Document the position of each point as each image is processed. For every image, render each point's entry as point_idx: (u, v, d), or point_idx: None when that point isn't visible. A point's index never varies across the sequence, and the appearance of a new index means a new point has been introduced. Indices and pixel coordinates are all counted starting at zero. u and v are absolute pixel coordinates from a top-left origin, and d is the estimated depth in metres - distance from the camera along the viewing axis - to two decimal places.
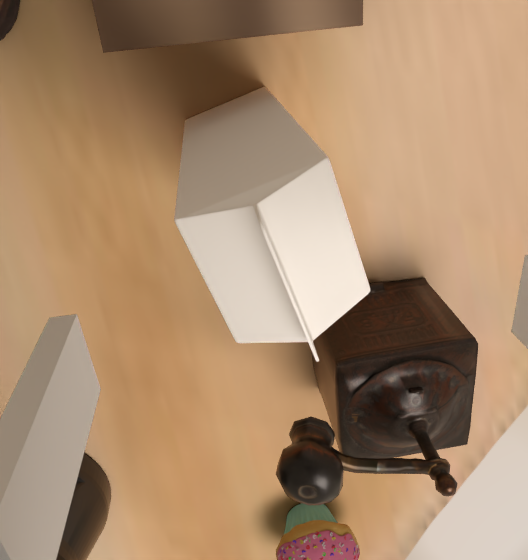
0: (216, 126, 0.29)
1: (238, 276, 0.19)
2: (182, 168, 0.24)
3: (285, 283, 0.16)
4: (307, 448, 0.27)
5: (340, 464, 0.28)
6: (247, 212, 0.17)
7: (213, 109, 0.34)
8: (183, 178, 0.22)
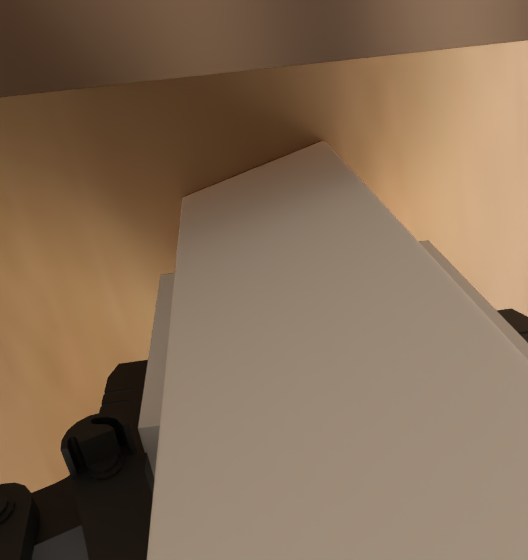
0: (244, 244, 0.14)
1: None
2: (167, 424, 0.09)
3: None
4: None
5: None
6: None
7: (232, 182, 0.19)
8: (166, 510, 0.07)
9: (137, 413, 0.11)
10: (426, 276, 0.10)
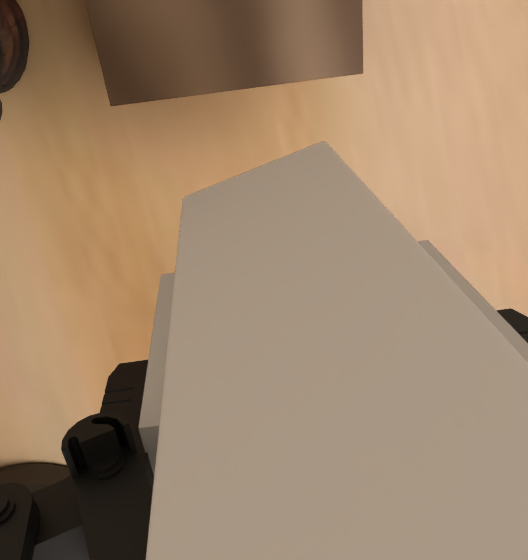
0: (244, 244, 0.14)
1: None
2: (166, 424, 0.09)
3: None
4: None
5: None
6: None
7: (233, 182, 0.19)
8: (165, 509, 0.07)
9: (137, 413, 0.11)
10: (426, 277, 0.10)
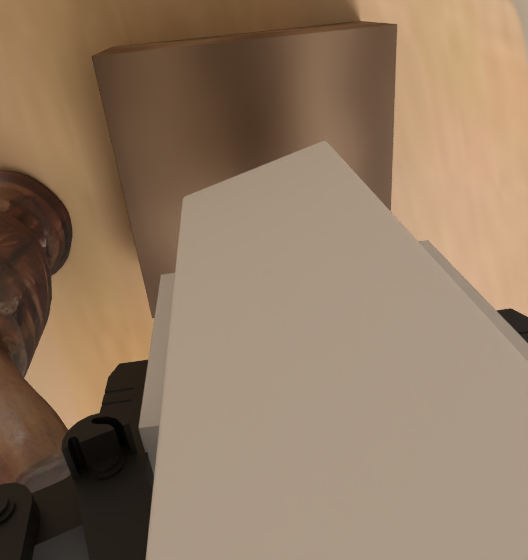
0: (245, 244, 0.14)
1: None
2: (166, 424, 0.09)
3: None
4: None
5: None
6: None
7: (233, 182, 0.19)
8: (165, 510, 0.07)
9: (138, 412, 0.11)
10: (426, 277, 0.10)
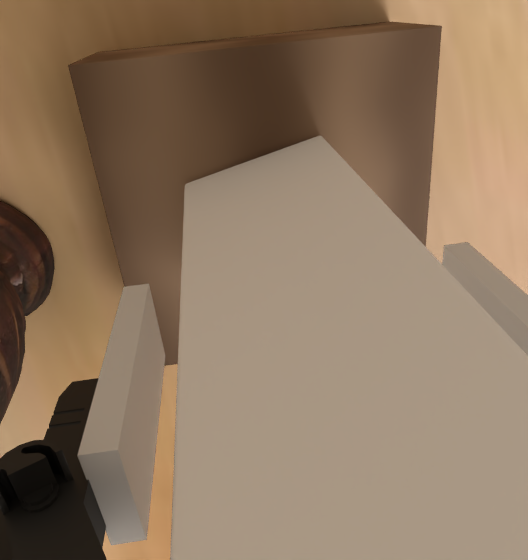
0: (247, 226, 0.15)
1: None
2: (184, 377, 0.10)
3: None
4: None
5: None
6: None
7: (233, 171, 0.20)
8: (188, 443, 0.09)
9: None
10: (414, 256, 0.11)
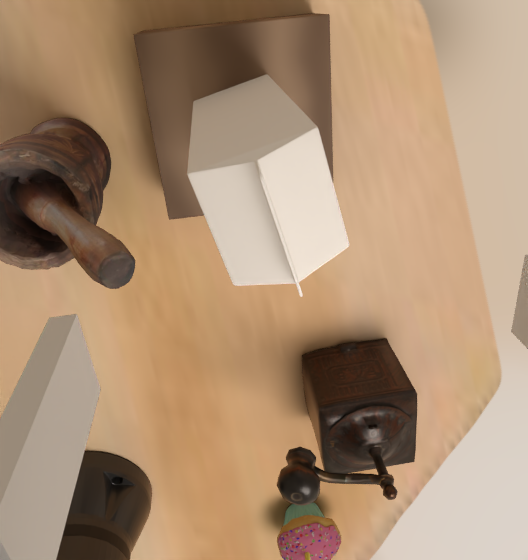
0: (222, 105, 0.32)
1: (238, 224, 0.22)
2: (192, 137, 0.27)
3: (277, 225, 0.20)
4: (296, 469, 0.43)
5: (318, 479, 0.44)
6: (249, 167, 0.20)
7: (219, 92, 0.37)
8: (194, 144, 0.26)
9: None
10: (282, 98, 0.28)
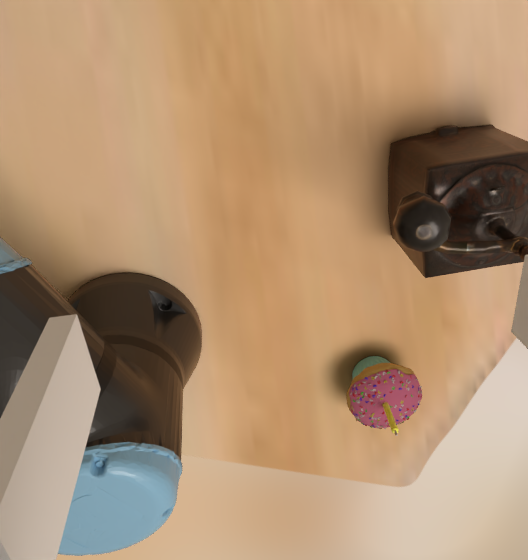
0: None
1: None
2: None
3: None
4: (423, 197, 0.33)
5: (449, 213, 0.34)
6: None
7: None
8: None
9: None
10: None
